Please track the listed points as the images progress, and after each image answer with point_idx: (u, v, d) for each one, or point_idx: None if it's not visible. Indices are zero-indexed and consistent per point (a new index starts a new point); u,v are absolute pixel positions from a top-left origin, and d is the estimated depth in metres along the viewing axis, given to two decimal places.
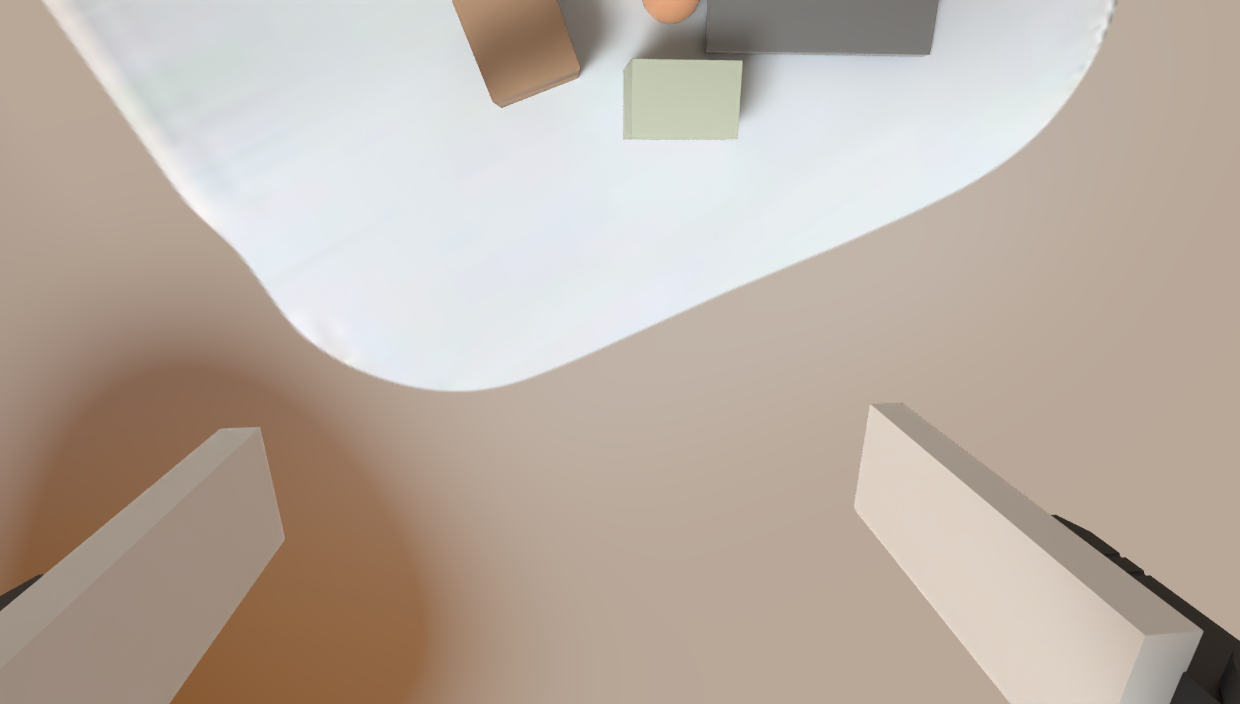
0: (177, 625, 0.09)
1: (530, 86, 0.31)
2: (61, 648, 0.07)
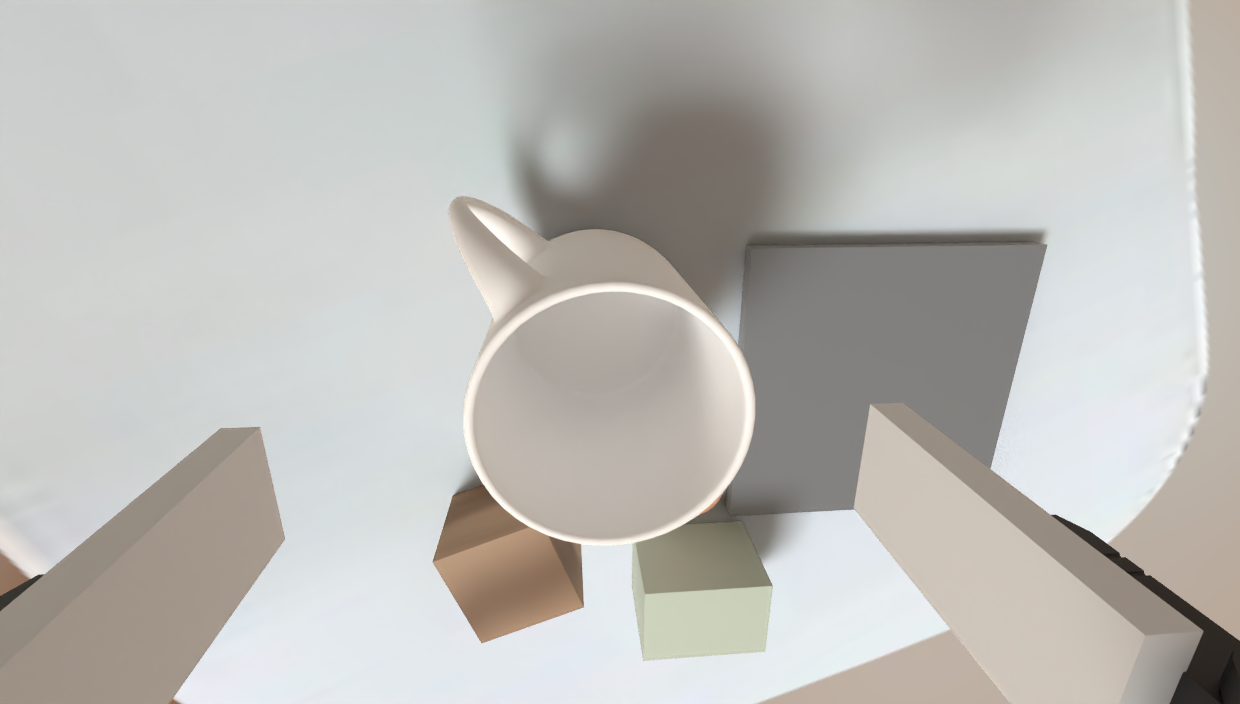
0: (178, 624, 0.09)
1: (525, 626, 0.27)
2: (61, 648, 0.07)
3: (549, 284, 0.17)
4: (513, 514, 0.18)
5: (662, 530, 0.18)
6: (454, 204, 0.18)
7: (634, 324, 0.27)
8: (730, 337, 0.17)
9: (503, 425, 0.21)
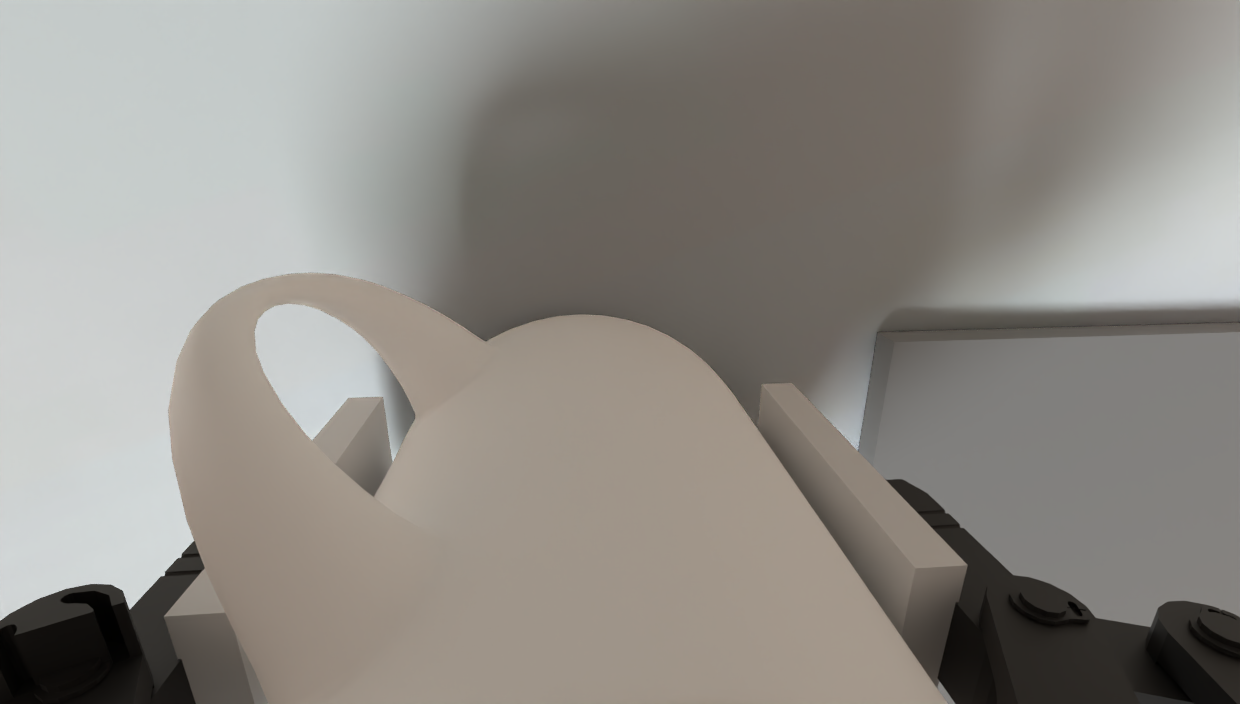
0: None
1: None
2: None
3: (428, 620, 0.05)
4: None
5: None
6: (203, 318, 0.07)
7: None
8: None
9: None
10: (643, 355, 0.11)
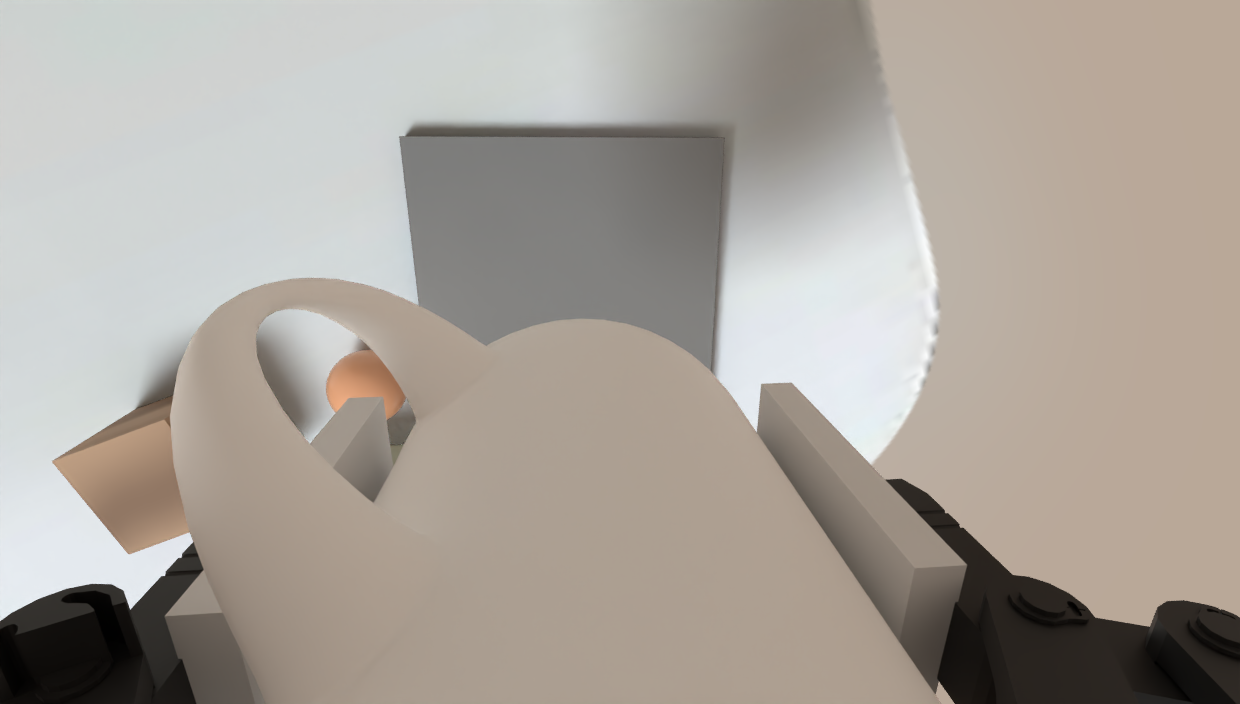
0: None
1: (174, 536, 0.25)
2: None
3: (428, 627, 0.05)
4: None
5: None
6: (205, 324, 0.07)
7: None
8: None
9: None
10: (643, 360, 0.11)
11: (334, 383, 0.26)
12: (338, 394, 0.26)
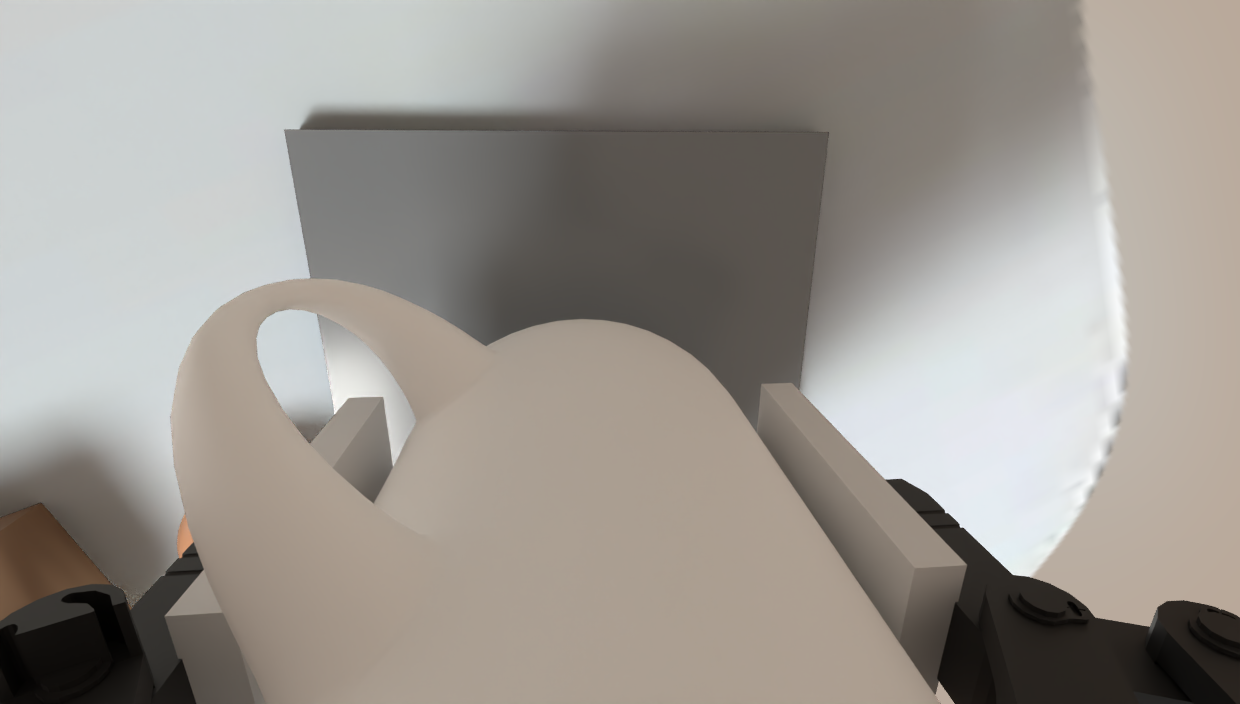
0: None
1: None
2: None
3: (428, 628, 0.05)
4: None
5: None
6: (205, 325, 0.07)
7: None
8: None
9: None
10: (643, 360, 0.11)
11: (185, 538, 0.16)
12: None
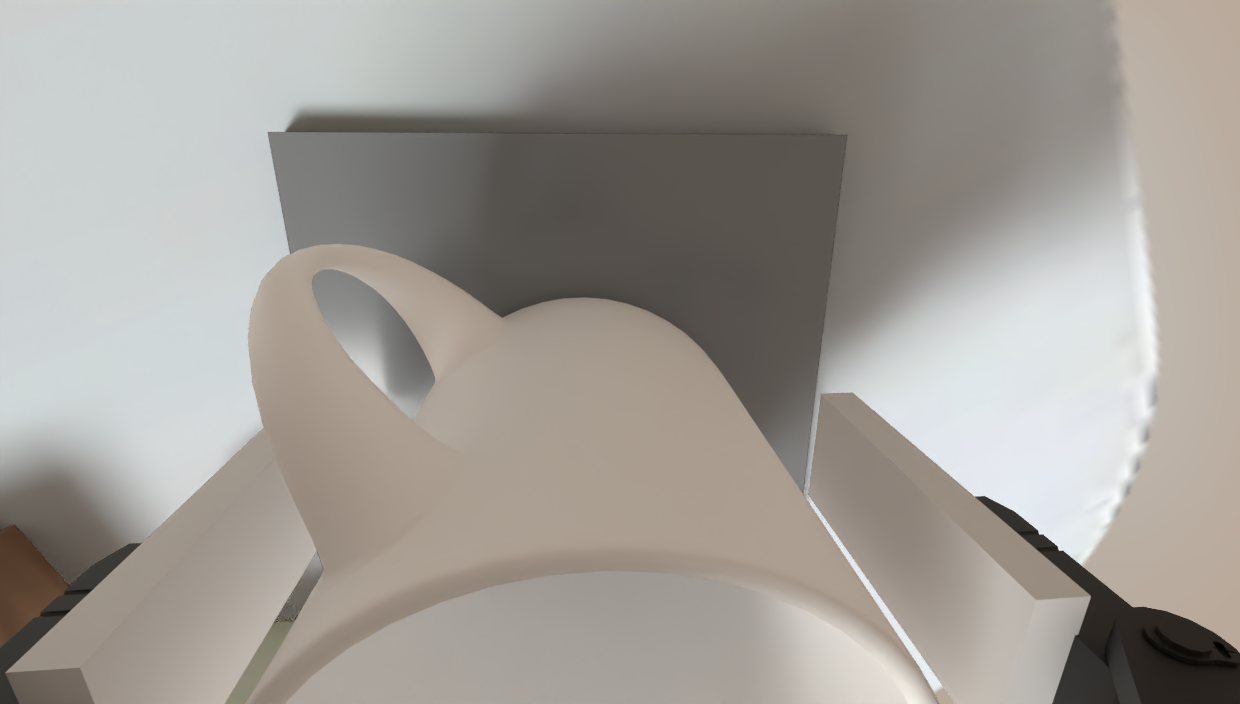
0: (254, 592, 0.10)
1: None
2: (169, 604, 0.08)
3: (453, 501, 0.07)
4: None
5: None
6: (273, 270, 0.08)
7: None
8: (918, 676, 0.06)
9: (382, 701, 0.10)
10: (639, 330, 0.13)
11: None
12: None
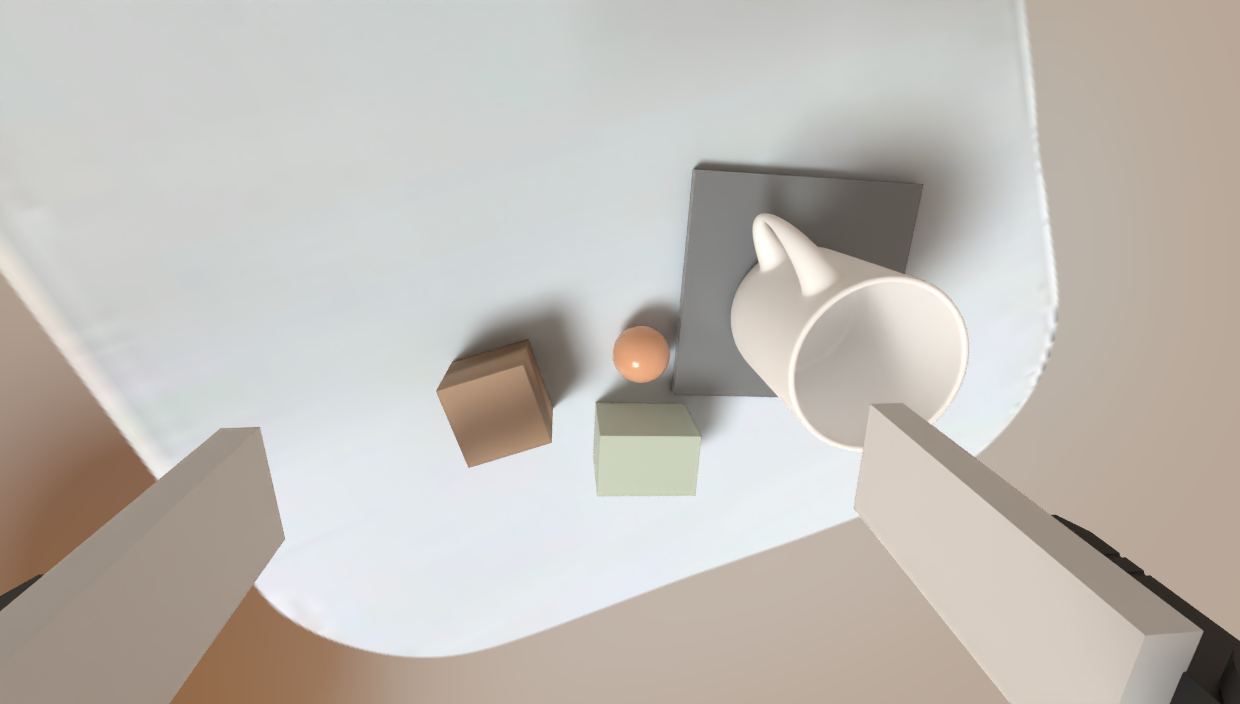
0: (177, 625, 0.09)
1: (504, 455, 0.34)
2: (61, 648, 0.07)
3: (851, 274, 0.27)
4: (804, 421, 0.27)
5: None
6: (776, 218, 0.28)
7: (822, 318, 0.37)
8: (963, 319, 0.26)
9: None
10: None
11: (628, 348, 0.34)
12: (632, 356, 0.34)
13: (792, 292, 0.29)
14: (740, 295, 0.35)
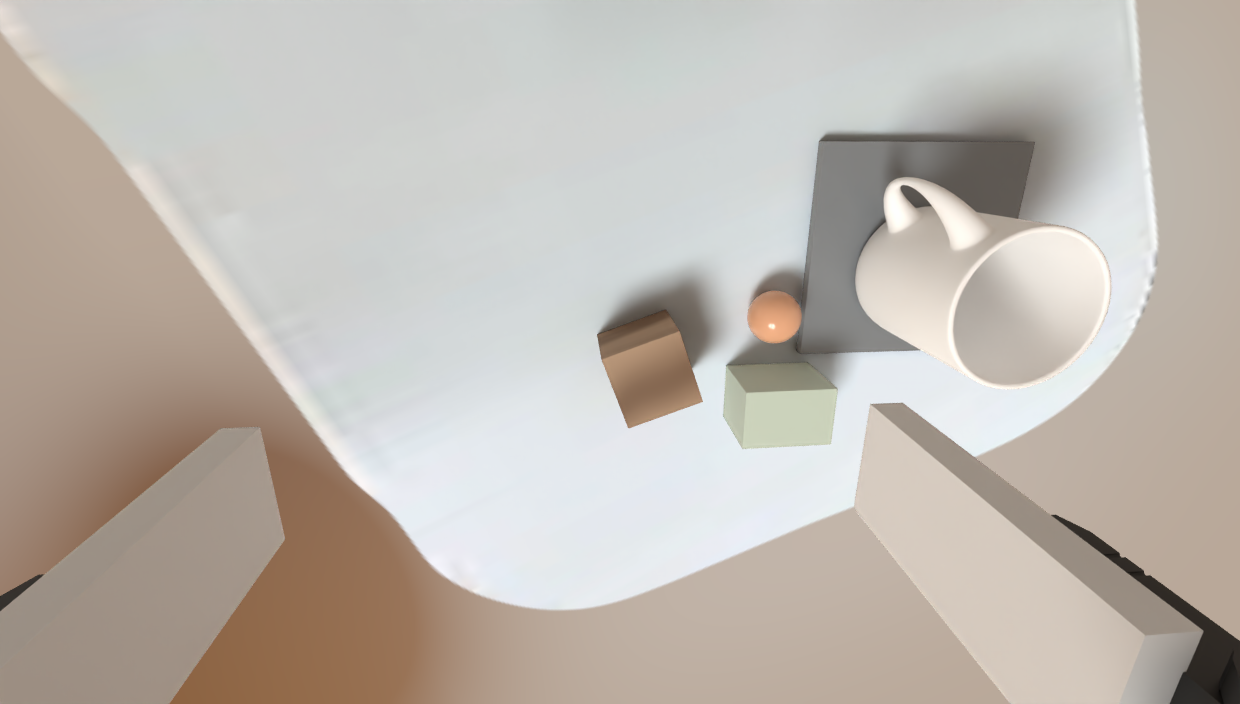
0: (178, 625, 0.09)
1: (660, 416, 0.37)
2: (61, 648, 0.07)
3: (1001, 227, 0.29)
4: (960, 363, 0.30)
5: (1037, 381, 0.31)
6: (922, 180, 0.31)
7: None
8: (1106, 262, 0.29)
9: None
10: None
11: (767, 311, 0.37)
12: (771, 318, 0.37)
13: (938, 248, 0.31)
14: (868, 256, 0.37)
